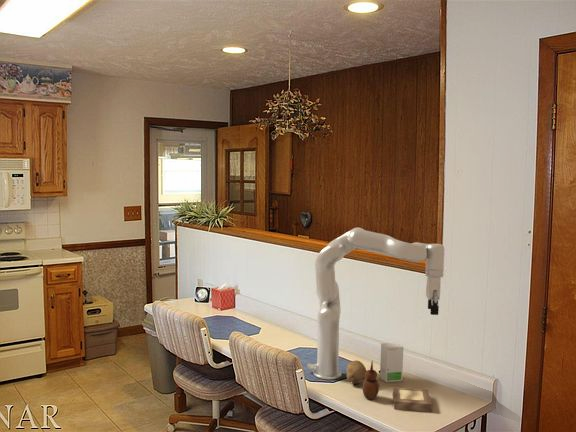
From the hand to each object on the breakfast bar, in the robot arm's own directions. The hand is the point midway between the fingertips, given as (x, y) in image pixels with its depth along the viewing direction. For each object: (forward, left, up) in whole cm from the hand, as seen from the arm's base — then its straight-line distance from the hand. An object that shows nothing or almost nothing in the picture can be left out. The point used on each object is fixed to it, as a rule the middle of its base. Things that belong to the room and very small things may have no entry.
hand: (432, 311), depth 235 cm
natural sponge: (-32, -8, -31) cm, 45 cm away
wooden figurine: (-26, -22, -31) cm, 46 cm away
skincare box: (-17, 0, -31) cm, 36 cm away
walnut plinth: (-10, -24, -31) cm, 41 cm away
